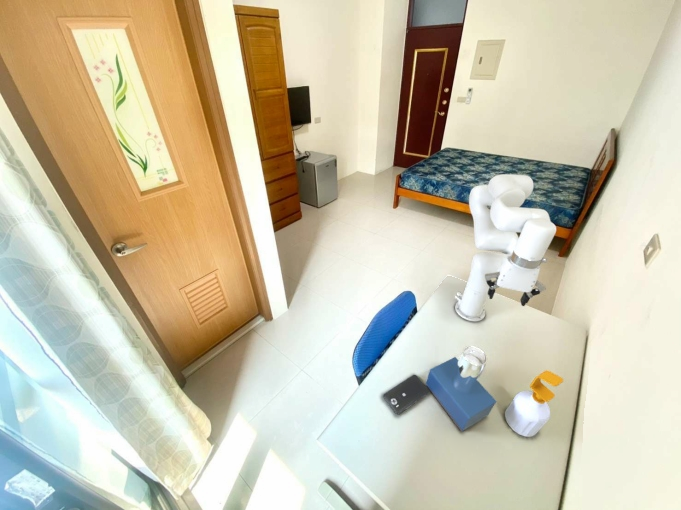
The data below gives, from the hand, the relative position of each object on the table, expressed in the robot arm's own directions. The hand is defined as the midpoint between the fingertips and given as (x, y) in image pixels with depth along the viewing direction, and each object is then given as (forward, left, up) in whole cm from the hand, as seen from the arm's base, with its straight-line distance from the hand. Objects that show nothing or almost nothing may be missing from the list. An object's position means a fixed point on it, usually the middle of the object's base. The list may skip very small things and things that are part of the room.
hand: (505, 299), depth 93 cm
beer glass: (+10, -24, -18) cm, 32 cm away
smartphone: (+1, -37, -28) cm, 47 cm away
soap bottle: (+24, -10, -28) cm, 38 cm away
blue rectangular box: (+10, -24, -28) cm, 38 cm away
